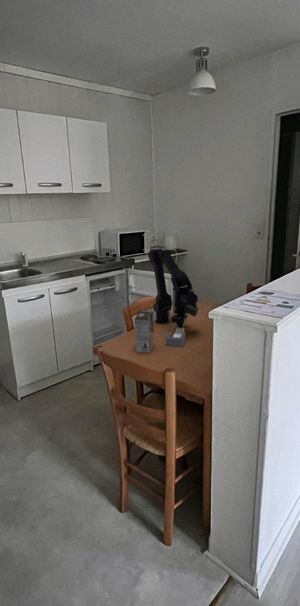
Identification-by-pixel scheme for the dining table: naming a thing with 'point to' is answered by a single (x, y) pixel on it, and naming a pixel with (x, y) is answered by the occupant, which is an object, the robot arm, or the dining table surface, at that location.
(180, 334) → the slat
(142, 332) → the coffee box
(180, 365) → the dining table surface
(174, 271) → the robot arm
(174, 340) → the end cap
